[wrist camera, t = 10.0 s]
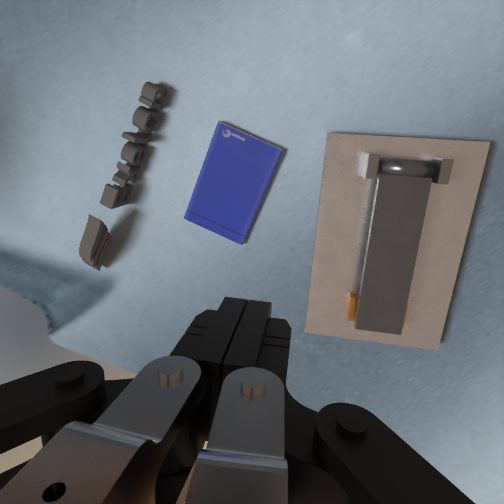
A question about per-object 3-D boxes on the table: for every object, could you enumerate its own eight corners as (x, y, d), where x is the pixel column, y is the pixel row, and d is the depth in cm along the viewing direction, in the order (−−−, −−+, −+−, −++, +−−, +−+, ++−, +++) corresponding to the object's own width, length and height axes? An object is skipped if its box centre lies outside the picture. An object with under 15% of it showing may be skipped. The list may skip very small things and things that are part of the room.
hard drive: (217, 120, 40) (182, 218, 44) (283, 149, 39) (242, 245, 43) (221, 121, 41) (187, 216, 45) (284, 149, 41) (244, 242, 45)
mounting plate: (327, 133, 39) (329, 131, 34) (481, 142, 37) (506, 141, 32) (304, 324, 46) (303, 345, 42) (432, 341, 44) (446, 365, 39)
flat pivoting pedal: (379, 157, 36) (383, 157, 34) (431, 160, 35) (437, 160, 34) (353, 323, 41) (355, 330, 39) (398, 329, 41) (401, 336, 39)
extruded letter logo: (104, 267, 49) (79, 282, 44) (95, 262, 49) (68, 277, 44) (168, 90, 41) (146, 82, 35) (156, 84, 41) (132, 75, 35)
